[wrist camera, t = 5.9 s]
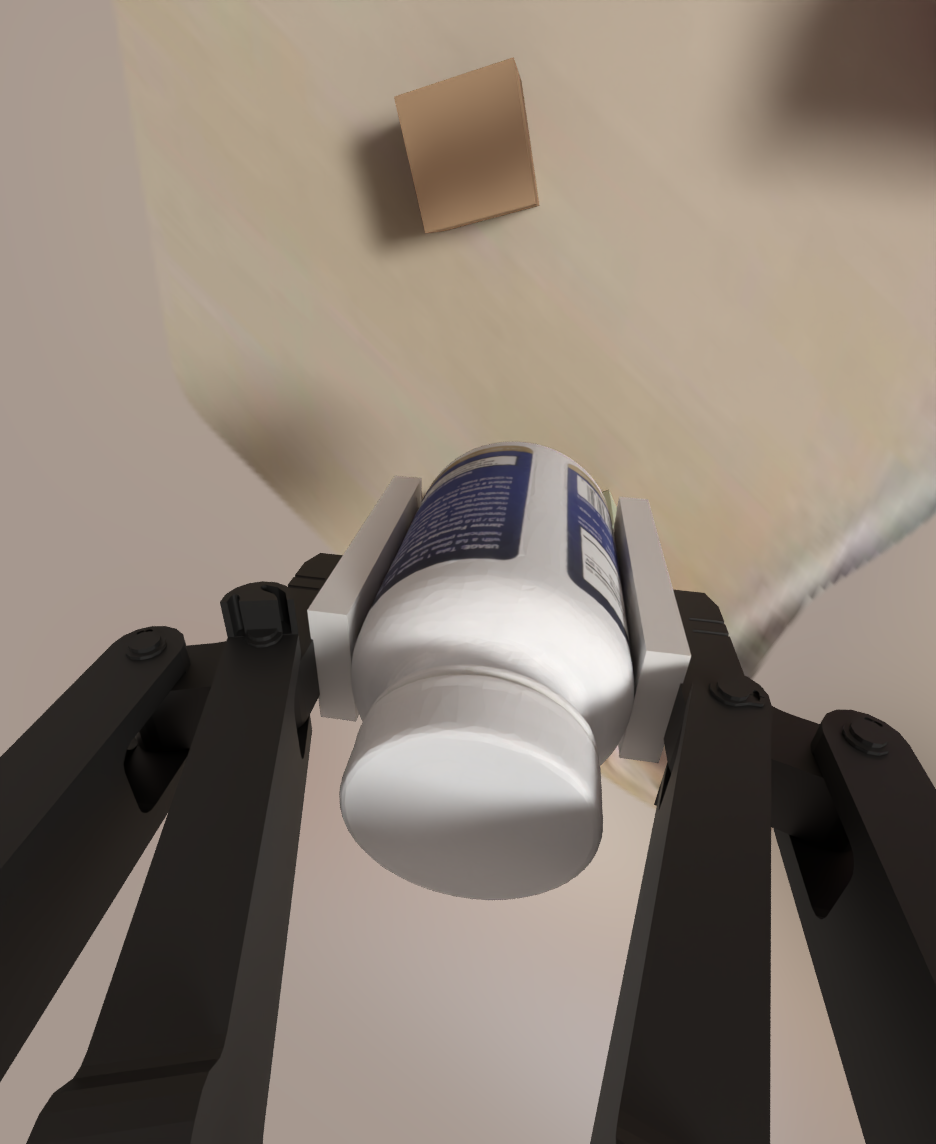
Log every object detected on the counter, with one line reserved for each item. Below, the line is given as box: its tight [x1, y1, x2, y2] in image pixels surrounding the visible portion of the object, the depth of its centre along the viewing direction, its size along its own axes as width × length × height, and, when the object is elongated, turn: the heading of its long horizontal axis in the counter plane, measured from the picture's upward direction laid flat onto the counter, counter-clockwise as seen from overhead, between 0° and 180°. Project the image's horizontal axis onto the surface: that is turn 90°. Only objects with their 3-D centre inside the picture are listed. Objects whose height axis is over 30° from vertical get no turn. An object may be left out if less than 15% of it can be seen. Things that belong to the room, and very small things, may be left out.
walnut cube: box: [394, 57, 539, 233], centre depth 27 cm, size 5×5×5 cm
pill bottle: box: [340, 442, 634, 900], centre depth 13 cm, size 5×5×10 cm
